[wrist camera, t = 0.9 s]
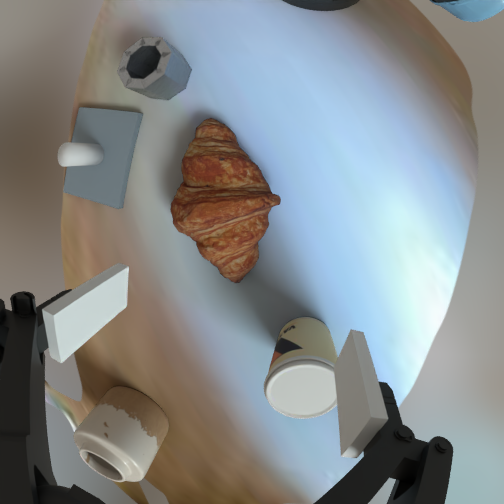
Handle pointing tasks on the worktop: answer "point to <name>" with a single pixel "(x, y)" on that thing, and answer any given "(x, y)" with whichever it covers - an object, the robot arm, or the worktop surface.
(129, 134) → the shaft block
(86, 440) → the vase
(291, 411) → the coffee cup
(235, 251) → the pastry
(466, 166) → the worktop surface
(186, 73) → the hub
